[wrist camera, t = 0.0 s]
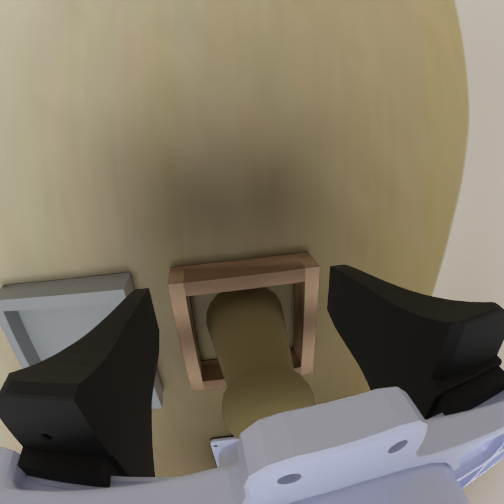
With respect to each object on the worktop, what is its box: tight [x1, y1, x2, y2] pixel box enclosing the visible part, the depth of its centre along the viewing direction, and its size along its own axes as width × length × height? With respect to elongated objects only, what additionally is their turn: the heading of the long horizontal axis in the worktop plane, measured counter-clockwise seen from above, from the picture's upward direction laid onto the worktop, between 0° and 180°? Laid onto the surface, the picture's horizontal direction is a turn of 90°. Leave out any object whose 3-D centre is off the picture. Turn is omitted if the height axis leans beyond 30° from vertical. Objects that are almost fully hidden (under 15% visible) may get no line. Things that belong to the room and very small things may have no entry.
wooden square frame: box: [168, 252, 320, 391], centre depth 24 cm, size 10×10×2 cm
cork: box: [207, 287, 315, 439], centre depth 20 cm, size 6×6×11 cm
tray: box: [0, 272, 163, 409], centre depth 22 cm, size 12×12×2 cm
